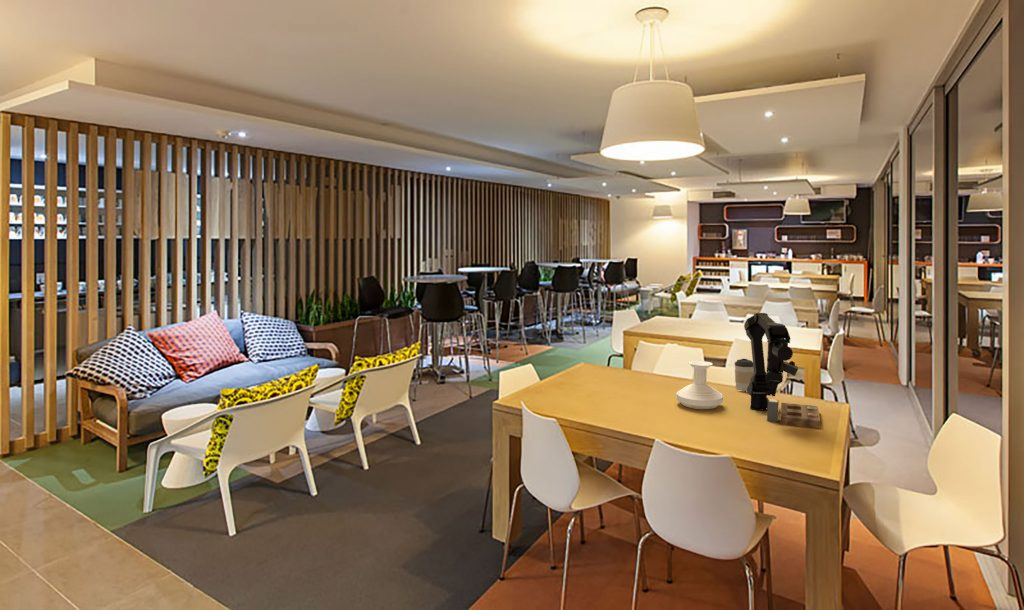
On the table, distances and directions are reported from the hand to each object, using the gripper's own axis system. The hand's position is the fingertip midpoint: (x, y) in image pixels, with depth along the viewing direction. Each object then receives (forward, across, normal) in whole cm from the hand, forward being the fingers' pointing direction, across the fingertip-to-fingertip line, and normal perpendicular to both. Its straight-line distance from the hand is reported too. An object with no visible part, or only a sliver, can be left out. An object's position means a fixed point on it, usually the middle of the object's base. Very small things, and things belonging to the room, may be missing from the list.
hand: (773, 393), depth 240 cm
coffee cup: (+12, +46, +14) cm, 49 cm away
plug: (+11, 0, 0) cm, 11 cm away
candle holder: (+12, +10, +30) cm, 34 cm away
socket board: (+11, +7, -10) cm, 16 cm away
